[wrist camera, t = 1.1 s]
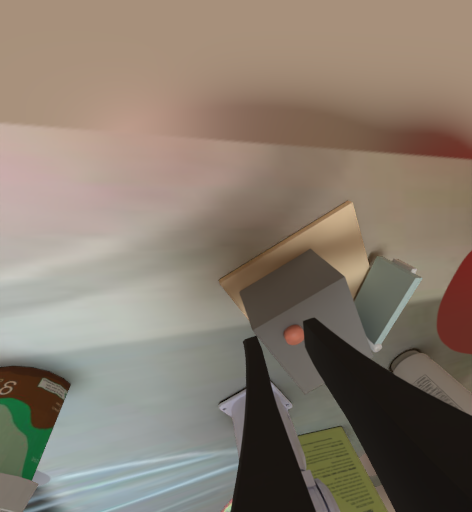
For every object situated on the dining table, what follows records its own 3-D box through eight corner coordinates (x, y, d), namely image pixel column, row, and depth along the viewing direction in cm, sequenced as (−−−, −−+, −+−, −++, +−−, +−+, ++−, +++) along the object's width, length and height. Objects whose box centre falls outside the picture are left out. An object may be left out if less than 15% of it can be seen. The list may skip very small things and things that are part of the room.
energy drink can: (409, 371, 36) (534, 497, 23) (381, 374, 35) (499, 510, 22) (428, 347, 34) (581, 472, 21) (399, 348, 32) (545, 485, 19)
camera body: (345, 327, 26) (381, 368, 21) (289, 359, 27) (312, 405, 22) (311, 248, 20) (351, 280, 15) (238, 291, 20) (254, 336, 16)
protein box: (266, 442, 37) (310, 608, 24) (341, 424, 41) (418, 563, 27) (260, 468, 42) (294, 620, 28) (328, 451, 45) (388, 580, 32)
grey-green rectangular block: (353, 321, 26) (383, 351, 22) (343, 321, 25) (371, 352, 21) (388, 254, 22) (431, 276, 18) (377, 253, 21) (418, 275, 18)
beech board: (381, 321, 28) (384, 324, 28) (291, 371, 29) (292, 375, 29) (348, 200, 19) (352, 202, 19) (218, 280, 20) (219, 283, 20)
